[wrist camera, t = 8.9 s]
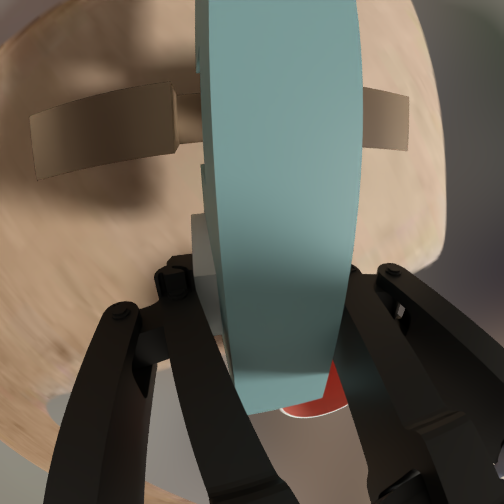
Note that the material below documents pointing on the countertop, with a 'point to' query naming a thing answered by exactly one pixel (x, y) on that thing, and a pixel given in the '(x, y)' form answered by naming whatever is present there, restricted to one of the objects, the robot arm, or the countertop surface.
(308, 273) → the teal arch piece
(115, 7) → the countertop surface
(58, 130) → the u-notched wood block
